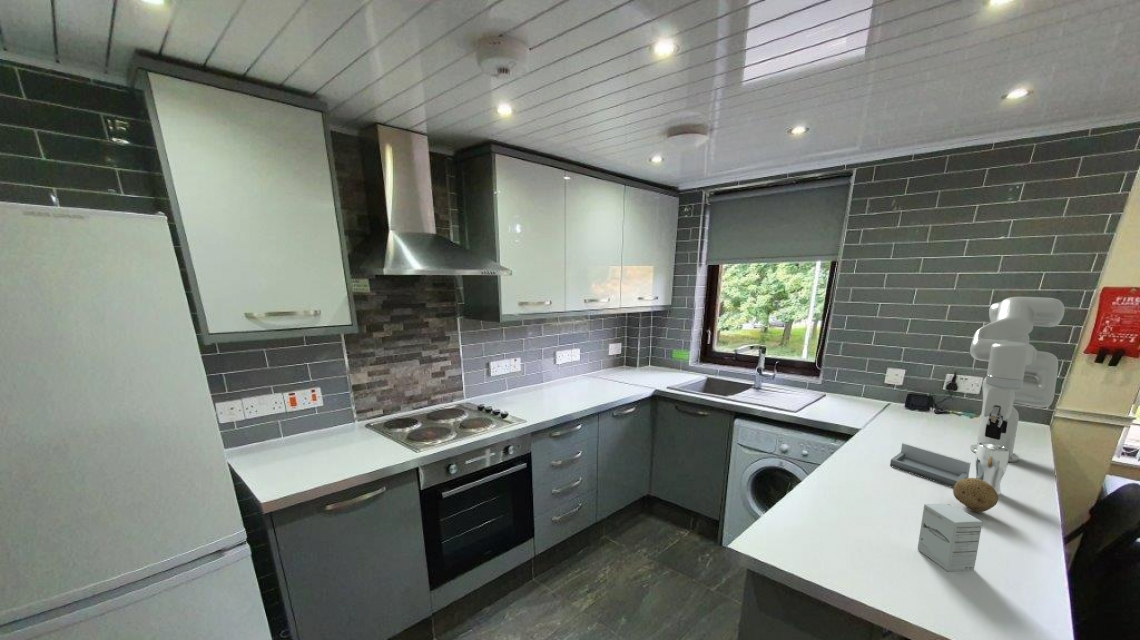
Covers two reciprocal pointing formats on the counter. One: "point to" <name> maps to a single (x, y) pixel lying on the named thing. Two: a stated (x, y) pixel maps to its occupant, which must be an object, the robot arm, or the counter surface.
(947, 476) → the guarded tray
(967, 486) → the natural sponge
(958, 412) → the counter surface
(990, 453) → the beer glass
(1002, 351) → the robot arm
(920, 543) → the supplement box
